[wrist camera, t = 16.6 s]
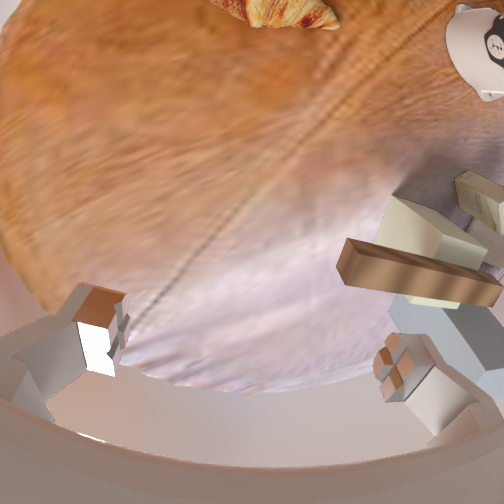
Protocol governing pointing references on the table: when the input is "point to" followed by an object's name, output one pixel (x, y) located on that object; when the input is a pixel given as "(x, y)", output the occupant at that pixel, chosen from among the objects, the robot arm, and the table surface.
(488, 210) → the skincare box
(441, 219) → the step block
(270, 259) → the table surface
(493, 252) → the washcloth
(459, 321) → the shelf stand
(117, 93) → the table surface
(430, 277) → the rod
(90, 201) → the table surface
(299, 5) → the croissant
